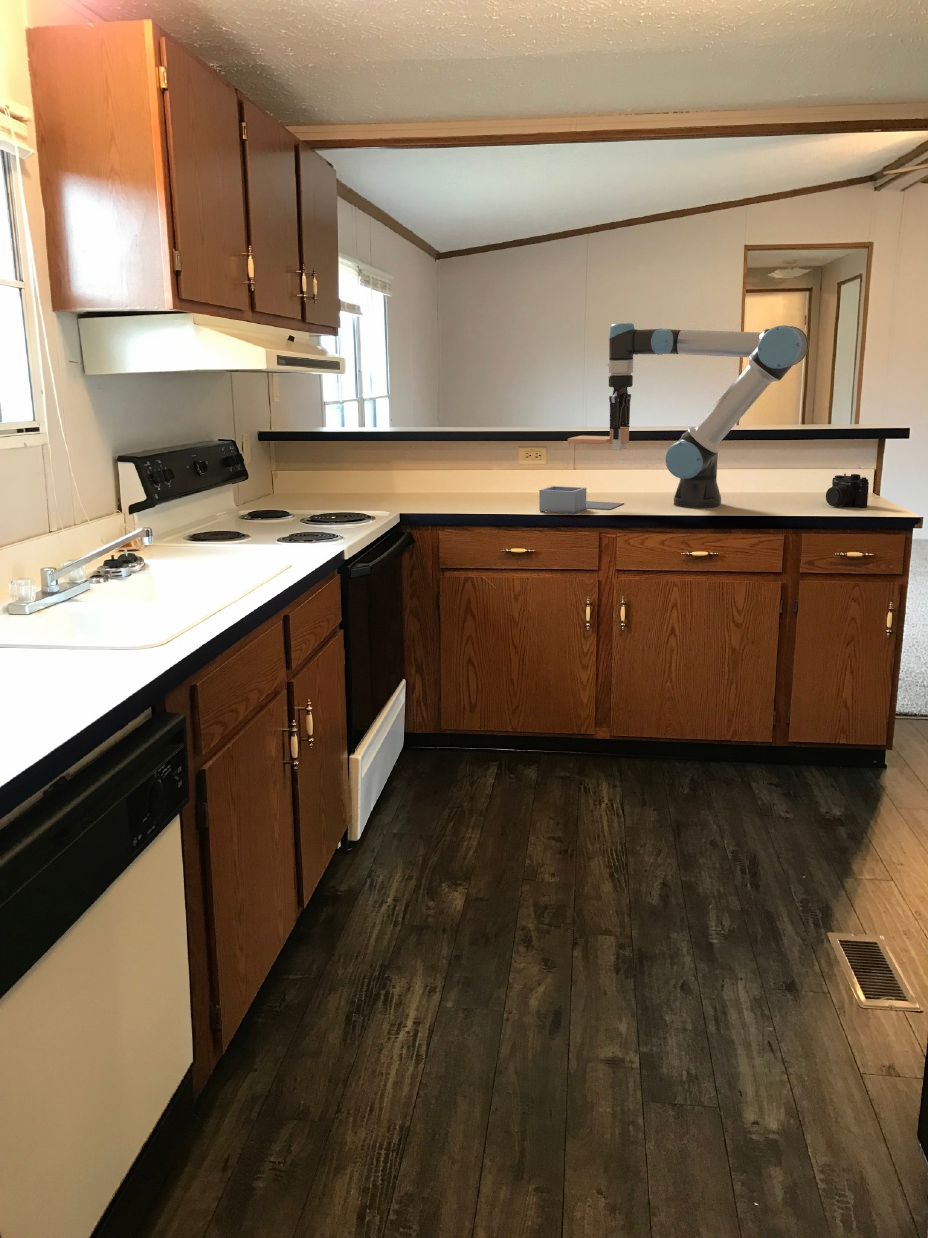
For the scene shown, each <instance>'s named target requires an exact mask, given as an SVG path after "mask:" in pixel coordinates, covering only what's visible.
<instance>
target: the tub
mask: <svg viewBox="0 0 928 1238" xmlns="http://www.w3.org/2000/svg"><path fill="white" fill-rule="evenodd" d="M538 491H539V493H538V494H539V495H538V498H539V499H538V500H539V501H538V504H539V509H538V510H539V511H547V512H546V513H550V512H558V513H557V514H566V513H570V514H571V515H575V514H578V513H580V512H579V511H581V512H583V511H586V510H587V509H586V501H587V487H581V486H578V487H577V486H560V485H558V486H556V485H551V486H548V487H544V488H541V489H539V490H538ZM585 509H586V510H585ZM539 511H538V512H539ZM577 512H578V513H577Z"/></svg>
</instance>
